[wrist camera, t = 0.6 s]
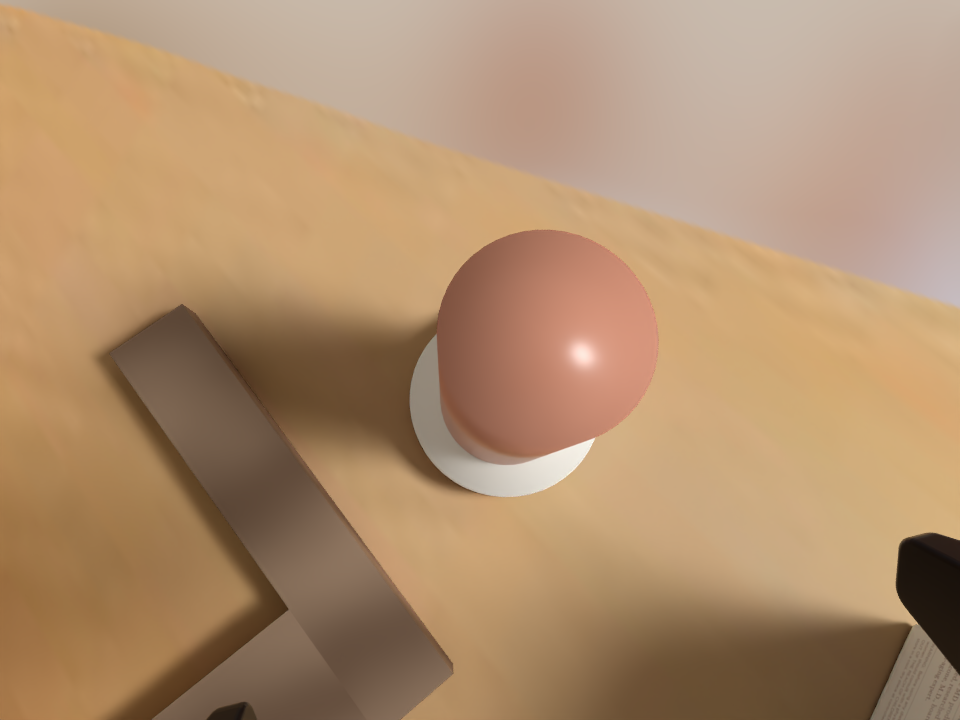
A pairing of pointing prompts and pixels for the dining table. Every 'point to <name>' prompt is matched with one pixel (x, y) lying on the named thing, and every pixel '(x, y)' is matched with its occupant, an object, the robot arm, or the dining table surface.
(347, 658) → the notched board
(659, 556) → the dining table surface
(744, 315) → the dining table surface
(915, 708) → the supplement box
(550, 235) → the knob
